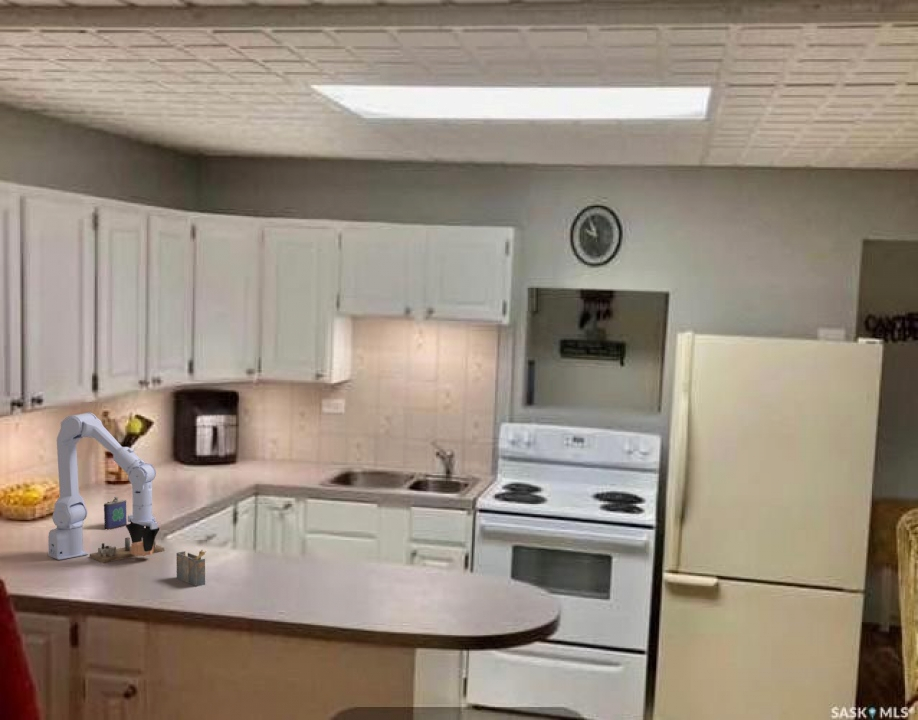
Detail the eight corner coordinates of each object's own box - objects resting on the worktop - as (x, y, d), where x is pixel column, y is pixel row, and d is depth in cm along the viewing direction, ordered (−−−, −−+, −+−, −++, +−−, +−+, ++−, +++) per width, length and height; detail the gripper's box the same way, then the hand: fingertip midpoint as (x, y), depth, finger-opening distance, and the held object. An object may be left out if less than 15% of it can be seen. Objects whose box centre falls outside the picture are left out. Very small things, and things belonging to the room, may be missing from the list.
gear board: (103, 562, 284) (103, 546, 284) (89, 557, 290) (89, 540, 290) (164, 550, 299) (164, 535, 298) (149, 545, 305) (149, 530, 305)
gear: (138, 557, 284) (138, 547, 283) (128, 553, 288) (128, 543, 288) (156, 553, 288) (156, 543, 288) (146, 549, 292) (146, 540, 292)
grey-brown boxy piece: (206, 585, 263) (206, 551, 262) (196, 588, 261) (196, 553, 260) (186, 577, 271) (186, 543, 270) (176, 579, 269) (176, 545, 268)
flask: (123, 524, 335) (123, 494, 335) (129, 525, 334) (129, 494, 334) (102, 529, 327) (102, 498, 327) (108, 530, 326) (108, 499, 325)
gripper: (166, 506, 285) (166, 550, 286) (142, 499, 295) (142, 542, 296) (145, 509, 280) (145, 554, 281) (121, 502, 290) (121, 546, 291)
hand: (142, 548), depth 288 cm, fingers closed on gear, 6 cm apart
